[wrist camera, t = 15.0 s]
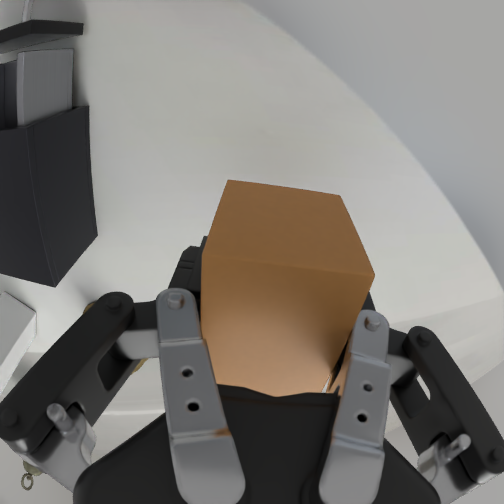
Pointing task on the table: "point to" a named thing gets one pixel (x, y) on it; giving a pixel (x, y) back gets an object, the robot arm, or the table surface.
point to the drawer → (35, 71)
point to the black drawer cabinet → (46, 197)
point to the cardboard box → (280, 287)
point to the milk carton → (14, 335)
